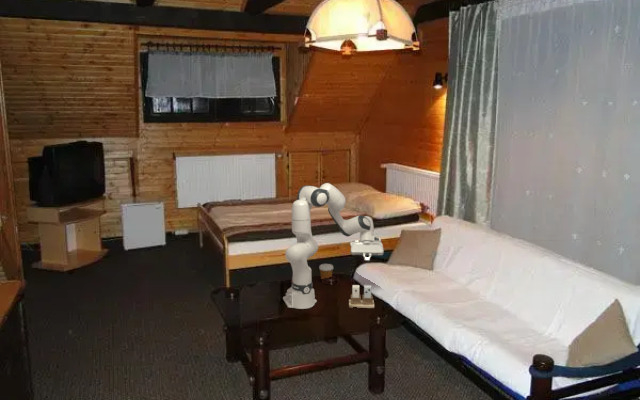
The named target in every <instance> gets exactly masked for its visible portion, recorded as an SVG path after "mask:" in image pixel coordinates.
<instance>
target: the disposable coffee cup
mask: <svg viewBox="0 0 640 400" xmlns="http://www.w3.org/2000/svg"><path fill="white" fill-rule="evenodd" d="M318 267H319V273H320V280H321V279H324V278H329V277H333V270H334V269H335V268H334V265H333V264H332V263H322V264H319V266H318Z"/></svg>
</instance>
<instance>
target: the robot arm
mask: <svg viewBox="0 0 640 400" xmlns="http://www.w3.org/2000/svg"><path fill="white" fill-rule="evenodd" d="M296 196H297V197H296V200H295V201H293V203H292V206H291V232H292V233H293V235H295V238H296V243H293V244H292V245H289V247H288V248H287V249H286V250H285V253H284V255H285V259H286V260H287V262H288V263H290V266H291V269H292V277H293V282H292V281H291V287H289V288H288V289H287V290H286V293H285V296H283V297H282V300H283V301H284V303H285V305H286V306H287V308H292V309H297V310H298V309H299V310H300V309H301V310H304V309H311V308H312V307H313V306H315V304H316V303H317V302H318V301H317V299H316V298H315V297H316V295H315V289H314V288H313V281H312V280H313V279H312V275H313V274H312V273H313V271H312V268H311V267H310V265H308V259H309V258H311V257H313V256H314V255H315V254H316V253H317V252H318V250H319V244H318V242H317V241H316V240H315V239H314V236H313V233H312V226H311V225H312V223H311V222H312V220H311V209H312V207H316V208H321V207H322V208H323V207H324V206H325V205H327V206H328V208H327V209H328V214H329V216H330V217H331V218H332V220H333V221H334V223H335V224H336V226H337V227H338V228H339V231H340V233H341V235H343V236H345V237H351V236H353V235H354V234H358V233H359V234H360V235H359V240H351V241H350V243H349V245H350V254H351V255H352V256H363V259H364V261H365V262H370V261H371V260H370V259H371V257H372V256H383V255H384V253H385V252H384V246H383V245H384V244H383V243H382V239H381V237H378V236H375V235H374V232H375V230H374V229H375V228H374V221H373V218H372V217H370V216H368V215H365V216H364V215H363V214H362V215H361V214H360V215H357V216H354V217H352V218H350V219H344V218H343V216H342V215H341V214H340V213H341V211H343V209H344V208H345V207H346V204H347V203H346V202H347V201H346V197H345V195H344V194H343V193H342V192H341V191H340V190H339V189H338V188H336V186H334V185H332V184H331V183H330V182H326V183H323V184H322V185H320V186H319V187H317V186H313V185H302V186H301V187H300V188H299V189H298V192H297V195H296ZM367 256H368V257H367Z"/></svg>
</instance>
